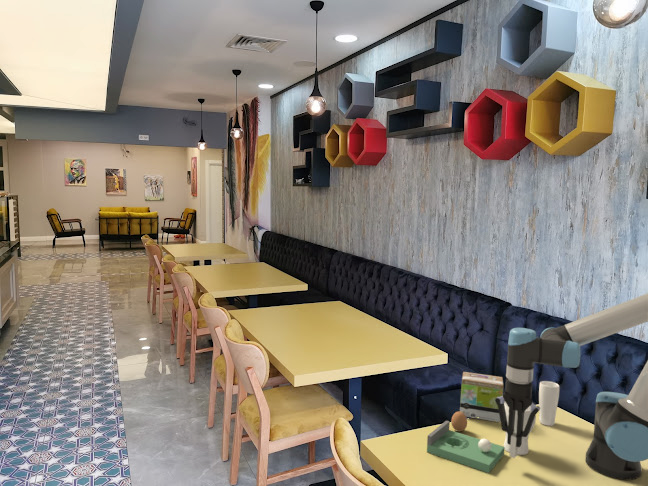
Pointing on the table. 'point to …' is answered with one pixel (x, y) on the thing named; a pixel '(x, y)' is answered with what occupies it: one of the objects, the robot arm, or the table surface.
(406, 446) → the table surface
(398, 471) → the table surface
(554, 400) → the drinking glass
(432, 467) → the table surface
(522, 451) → the cup
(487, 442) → the ball
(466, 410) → the tea box
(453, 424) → the egg
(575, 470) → the table surface
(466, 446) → the green
